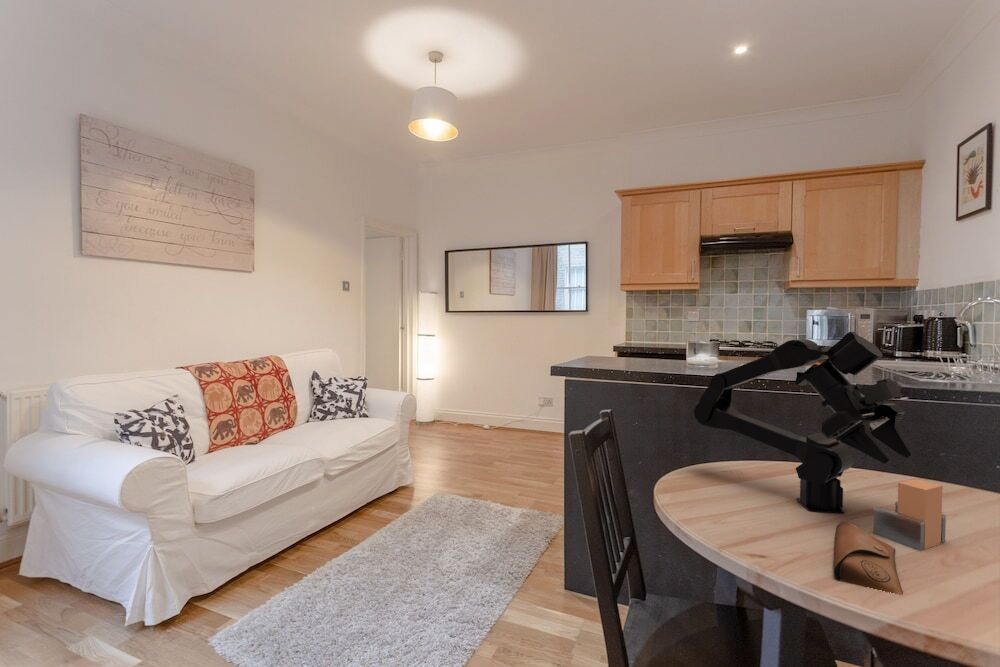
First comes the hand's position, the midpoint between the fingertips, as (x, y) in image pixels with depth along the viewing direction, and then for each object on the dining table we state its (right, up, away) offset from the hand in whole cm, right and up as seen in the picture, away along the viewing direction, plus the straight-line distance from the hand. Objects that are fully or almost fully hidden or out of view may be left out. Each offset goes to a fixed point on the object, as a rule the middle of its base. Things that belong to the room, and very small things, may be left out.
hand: (898, 459), depth 86 cm
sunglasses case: (-14, -14, -10) cm, 22 cm away
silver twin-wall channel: (0, -13, -2) cm, 14 cm away
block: (+1, -13, -3) cm, 14 cm away
